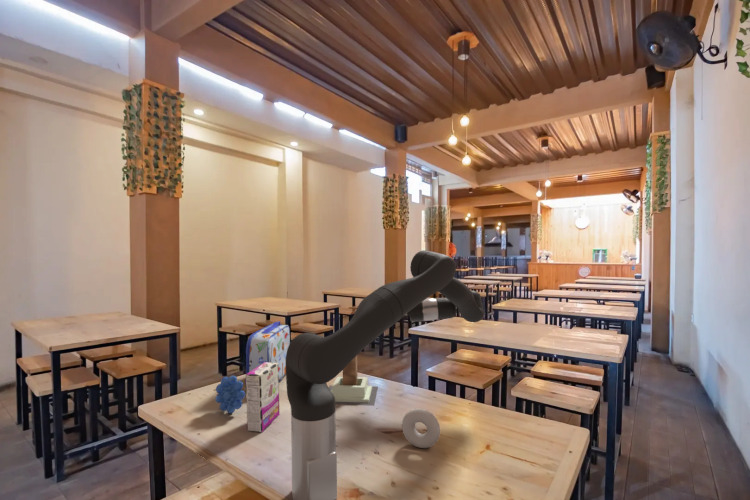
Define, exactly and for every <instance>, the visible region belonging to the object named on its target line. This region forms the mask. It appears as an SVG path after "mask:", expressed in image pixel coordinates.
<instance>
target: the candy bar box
mask: <svg viewBox="0 0 750 500" xmlns="http://www.w3.org/2000/svg"><path fill="white" fill-rule="evenodd" d="M245 378H246V383H245V397H246V427H247V428H246V429H247V430H246V431H247V432H251V433H253V432H255V433H263V432H264V431H265V430H267V428H268V427H269V426H271V424H272V423H273V422H274V421H275V420H276V419H277V418H278V417H279V416H280V415H281V413H280V387H279V386H280V381H279V378H278V363H273V362H264V363H263V364H261V365H260V366H258V367H257V368H255V369H254V370H252V371H250V372H249V373H247V374H246V373H245Z"/></svg>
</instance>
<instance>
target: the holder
mask: <svg viewBox="0 0 750 500" xmlns="http://www.w3.org/2000/svg"><path fill="white" fill-rule="evenodd" d="M368 378H369V377H367V376H366V377H365V376H364V377H362V376H357V383H358V386H354V385H343V376H336V377H335V380H334V382H333V384H332V390H331V392H332V393H333V395H334V397H335V402H365V403H369V399H370V395H371V391H372V386H373V385H368V384H369V383H368Z"/></svg>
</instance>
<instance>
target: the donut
mask: <svg viewBox="0 0 750 500" xmlns="http://www.w3.org/2000/svg"><path fill="white" fill-rule="evenodd" d="M417 423H421V424H423V425H424V426H425V427H426V432H425V433H422V432H421V433H420V432H419V431H418V430H417V429H416V424H417ZM401 429H402V433H403V435H404V437H405V439H406V441H408V442H409V443H410V444H411V445H412V446H414V447H417V448H419V449H427V448H431V447H433V446H434V445H435V444H436V443H437V442H438V441H439V438H440V435H441V427H440V424H439V421H438V419H437V417H436V416H435V415H434V414H433V413H432V412H431V411H429V410H428V409H424V408H421V407H419V408H417V407H415V408H413V409H410V410H409V411H408V412H406V413H405V415H404V416H403V419H402V423H401Z"/></svg>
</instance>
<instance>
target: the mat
mask: <svg viewBox="0 0 750 500" xmlns="http://www.w3.org/2000/svg"><path fill="white" fill-rule="evenodd" d="M332 386H333V384H332V385H331V384H329V386H328V388H329V389H330V391H331V390H332ZM371 386H372V391H371V395H370V399H369V403H365V402H335V405H338V406H339V405H341V406H342V405H343V406H372V407H373V406H375V403H376V400H377V399H376V398H377V395H378V394H377V393H378V388H379V387H378V386H375V385H374V386H373V385H371Z"/></svg>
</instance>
